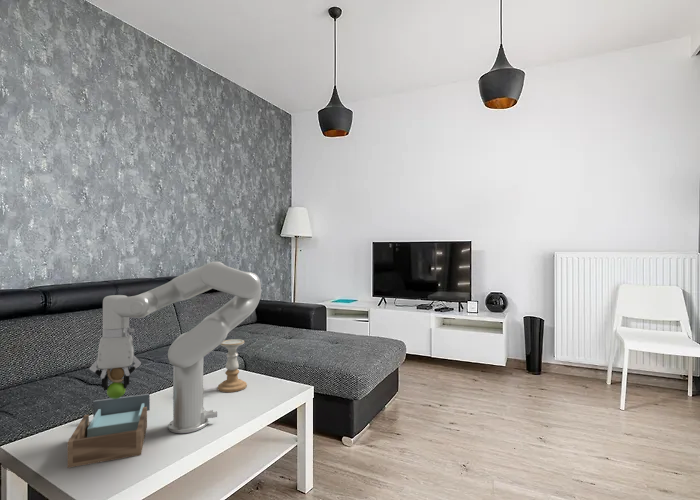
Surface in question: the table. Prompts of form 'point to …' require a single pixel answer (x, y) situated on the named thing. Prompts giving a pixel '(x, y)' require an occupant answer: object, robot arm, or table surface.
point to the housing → (105, 443)
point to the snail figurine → (115, 383)
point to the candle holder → (232, 368)
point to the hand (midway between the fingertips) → (115, 387)
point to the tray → (117, 414)
